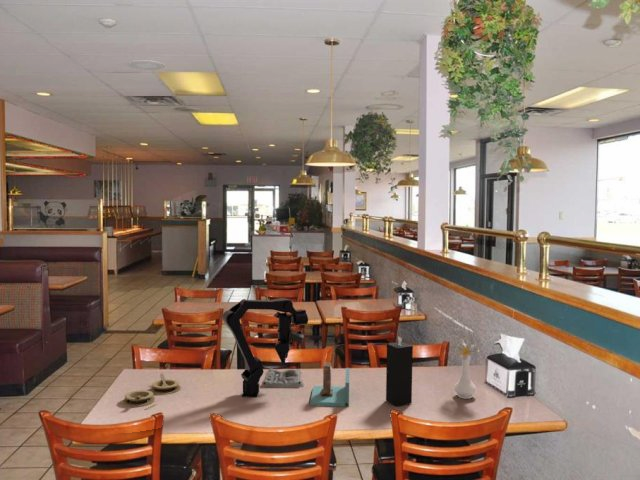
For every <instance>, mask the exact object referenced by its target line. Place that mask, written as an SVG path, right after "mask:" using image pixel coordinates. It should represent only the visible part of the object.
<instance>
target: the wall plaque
mask: <svg viewBox="0 0 640 480" xmlns="http://www.w3.org/2000/svg"><path fill="white" fill-rule="evenodd" d="M301 375H302V371H301V369H300V368H296V369H295V368H294V369H293V368H292V369H291V368H290V369H285V370H282V371H280V370H278V369H274V368H268V369H267V373H266V375H265V378H264V379H263V381H262V382H261V387H263V388H271V387H277V388H279V389H280V388H282V389H283V388H284V389H286V388H287V389H291V388H292V389H294V388H295V389H300V388H299V387H301V388H303V387H304V385H305V384H304V382H303V381H302V380H301Z"/></svg>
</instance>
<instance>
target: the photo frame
mask: <svg viewBox="0 0 640 480" xmlns="http://www.w3.org/2000/svg"><path fill="white" fill-rule="evenodd" d="M322 370H323V373H322V374H323V376H322V380H323V381H322V386H323V389H321V396H333V389H331V386H332V362H329V361H328V362H325V361H324V362H323V366H322Z"/></svg>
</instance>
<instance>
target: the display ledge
mask: <svg viewBox="0 0 640 480" xmlns="http://www.w3.org/2000/svg"><path fill="white" fill-rule="evenodd" d="M344 382H345V384H344V385H345V386H341V385H340V386H337V385H335V386H334V385H333V386H332V385H331V389H333V396H321V389H323V385H313V387H312V392H311V397H310V401H309V402H310V403H309V406H315V405H320V406H321V407H322V406H323V407H347V408H348V407H349V406H350V367H346V368H345V381H344Z"/></svg>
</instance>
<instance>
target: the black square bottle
mask: <svg viewBox="0 0 640 480" xmlns="http://www.w3.org/2000/svg"><path fill="white" fill-rule="evenodd" d="M397 340H398V341H396V342H390V343H386V368H385V369H386V373H385V374H386V376H385V379H386V385H385V400H386V402H388V403H389V404H391V405H393V406H395V407H402V406H405V405H410V404H412V401H413V399H412V398H413V397H412V396H413V356H414V355H413V353H414V352H413V350H414V348H413V347H414V346H413V345H411V344H409V343H406V342H404V341H403V339H402V337H400V335H399V336H397Z"/></svg>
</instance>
